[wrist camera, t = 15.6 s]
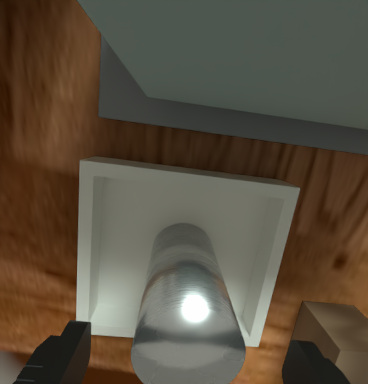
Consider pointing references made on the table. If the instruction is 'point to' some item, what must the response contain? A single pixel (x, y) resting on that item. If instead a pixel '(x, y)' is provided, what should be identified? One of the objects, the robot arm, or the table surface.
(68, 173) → the table surface
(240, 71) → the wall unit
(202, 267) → the steel cylinder
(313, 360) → the robot arm
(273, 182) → the tray
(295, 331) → the walnut block
